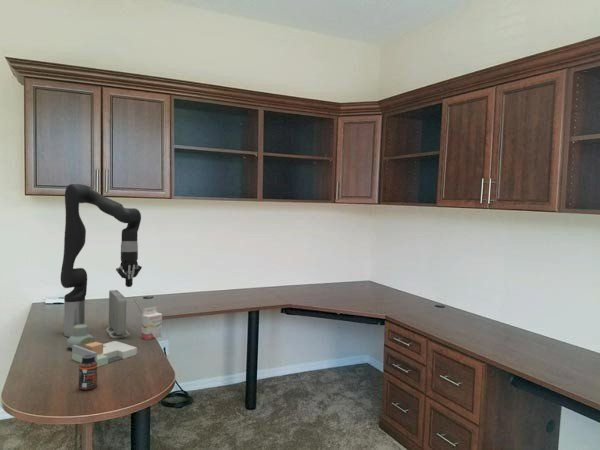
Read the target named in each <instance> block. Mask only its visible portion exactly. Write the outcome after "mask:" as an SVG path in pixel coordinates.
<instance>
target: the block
mask: <svg viewBox="0 0 600 450" xmlns="http://www.w3.org/2000/svg"><path fill="white" fill-rule="evenodd" d="M103 344H104V343H101V342H98V341H94V342H93V343H89V344H85V348H86V349H88V350H91V351H94V352H97V355H99V354H102V353H103Z"/></svg>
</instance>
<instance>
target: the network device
mask: <svg viewBox="0 0 600 450" xmlns="http://www.w3.org/2000/svg"><path fill="white" fill-rule="evenodd" d="M108 325H109V326H110V327H106V329H105V330H106V332H107V334H108V336H109V337H110V338H111V339H117V338H118V339H119V338H125V337H126V336H127V337H129V336H130V333H129V331H128V330H127V298H126V297H125V295H123V294H122V292H120V291H119V290H118V289H112V290H108ZM111 330H112V331H111ZM115 334H116V335H115ZM114 335H115V336H114Z"/></svg>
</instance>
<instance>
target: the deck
mask: <svg viewBox="0 0 600 450" xmlns="http://www.w3.org/2000/svg"><path fill="white" fill-rule="evenodd" d="M102 344H103V353H102V354H99V355H97V352H94V351H91V350H88V349H86V348H83V347H80V346H77V345H72V348H71V351H72V353H71V355H72V356H71V360H72V361H75V362H77V363H79V364H80V363H81V362H82V357H83V356H84V355H94V356H95V359H94V360H95V361H97V368H98V367H99V368H100V367H102V366H106V365H108V364H112V363H115V362H117V361H120V360H124V359H126V358H130V357H131V358H132V357H133V356H137V355H138V348H137V347H136V346H133V345H129V344H126V343H123V342H120V341H117V340H113V341H109V342H106V343H102Z"/></svg>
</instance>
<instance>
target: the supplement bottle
mask: <svg viewBox="0 0 600 450" xmlns="http://www.w3.org/2000/svg"><path fill="white" fill-rule="evenodd" d="M94 359H95V356H94V355H84V356H83V357H82V362H81V363H80V362H79V365H78V389H80V390H82V391H87V390H93V389H94V388H96V387H97V385H98V367H97V361H95V360H94Z"/></svg>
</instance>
